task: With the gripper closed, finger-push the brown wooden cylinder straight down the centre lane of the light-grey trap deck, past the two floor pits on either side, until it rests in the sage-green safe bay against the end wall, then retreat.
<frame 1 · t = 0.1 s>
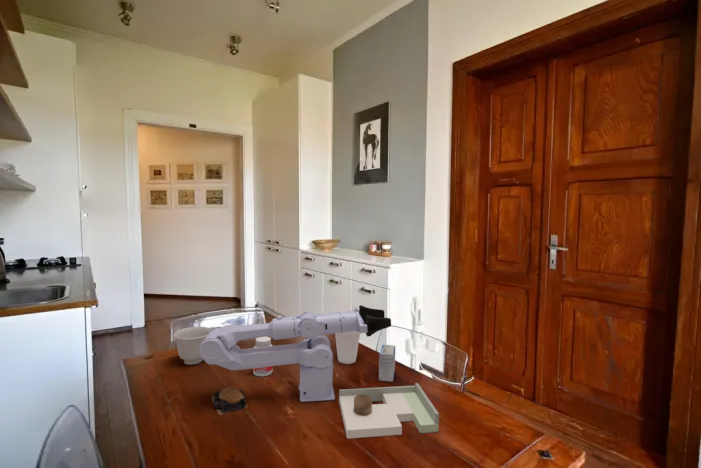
hand: (387, 317, 102), 22 cm above the table, tool horizontal, fingers open, 7 cm apart
medicine box: (386, 376, 113), on the table
pill bottle: (263, 373, 113), on the table
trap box: (385, 416, 91), on the table
tan black low dome: (229, 403, 96), on the table
teacup: (197, 360, 122), on the table
brown wooden cylinder: (362, 410, 90), point 2 cm above the table, touching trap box
foam cup: (347, 360, 125), on the table
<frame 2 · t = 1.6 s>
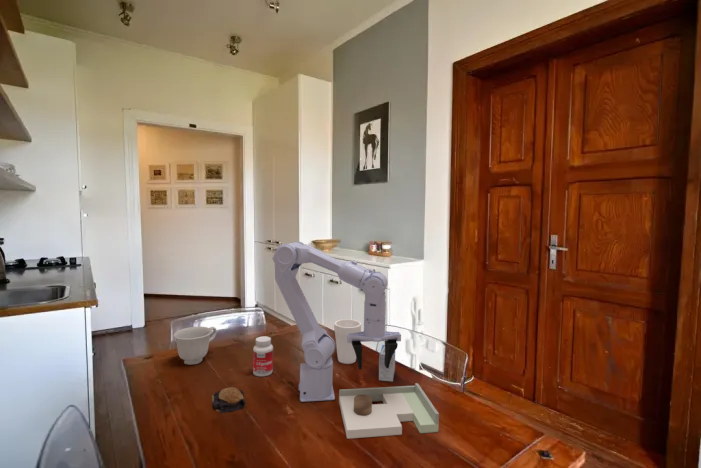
hand: (373, 367, 97), 10 cm above the table, tool pointing down, fingers open, 7 cm apart
nothing on the table moved.
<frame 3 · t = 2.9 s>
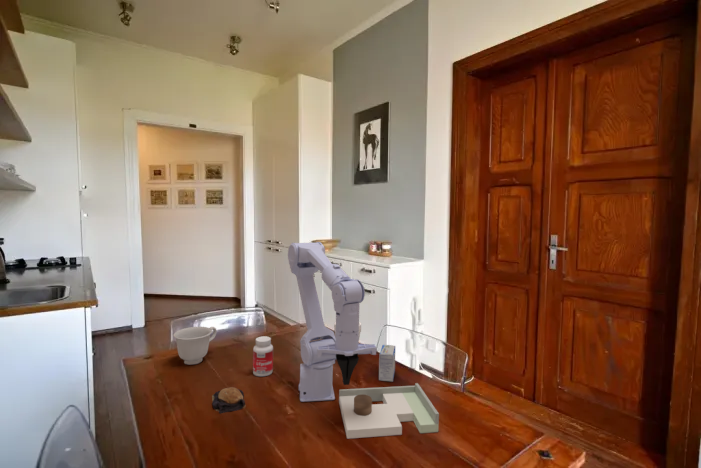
hand: (345, 382, 89), 9 cm above the table, tool pointing down, fingers closed
nothing on the table moved.
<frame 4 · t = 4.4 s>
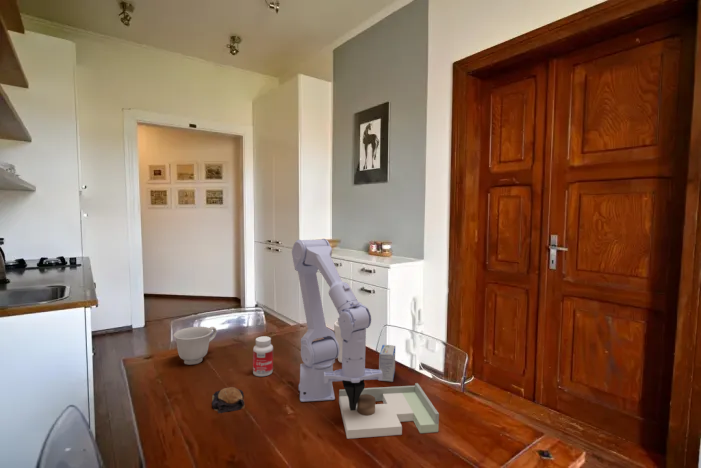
hand: (352, 408, 89), 3 cm above the table, tool pointing down, fingers closed
brown wooden cylinder: (366, 410, 90), point 2 cm above the table, touching gripper
everything else where it was.
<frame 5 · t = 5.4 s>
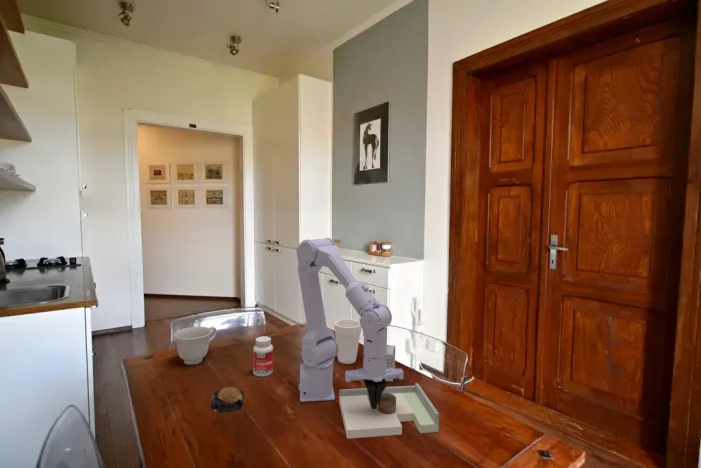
hand: (373, 406, 90), 3 cm above the table, tool pointing down, fingers closed
brown wooden cylinder: (387, 409, 91), point 2 cm above the table, touching gripper
everything else where it was.
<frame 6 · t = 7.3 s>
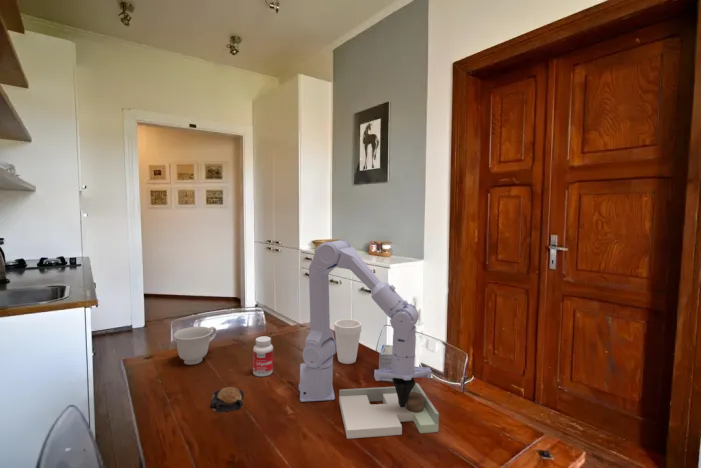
hand: (401, 405, 91), 3 cm above the table, tool pointing down, fingers closed
brown wooden cylinder: (414, 407, 92), point 2 cm above the table, touching gripper, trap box
everything else where it was.
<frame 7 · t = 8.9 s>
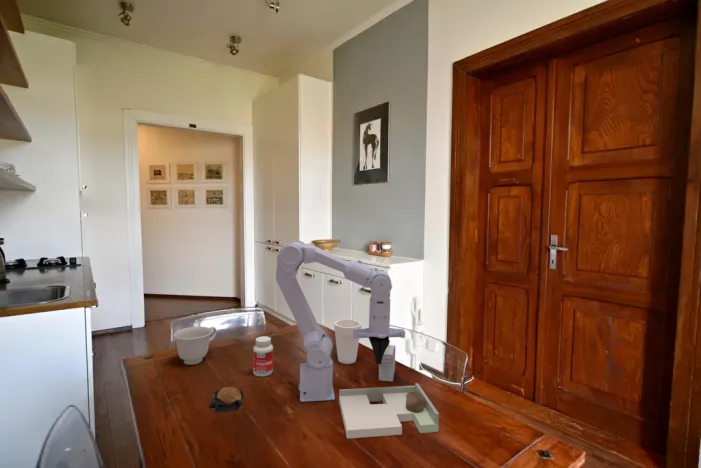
hand: (378, 362, 100), 10 cm above the table, tool pointing down, fingers closed
brown wooden cylinder: (414, 407, 92), point 2 cm above the table, touching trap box
everything else where it was.
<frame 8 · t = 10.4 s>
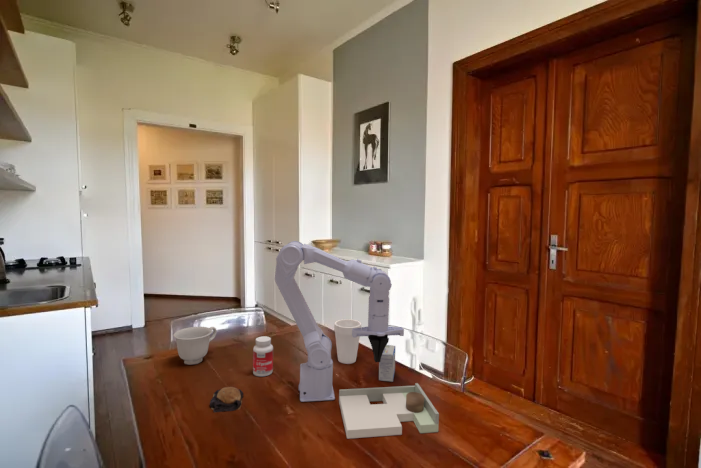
hand: (377, 360, 101), 10 cm above the table, tool pointing down, fingers closed
nothing on the table moved.
at the end: brown wooden cylinder 0.4 cm from the target spot on the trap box, point 2.0 cm above the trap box's base; brown wooden cylinder tilted 0° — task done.
